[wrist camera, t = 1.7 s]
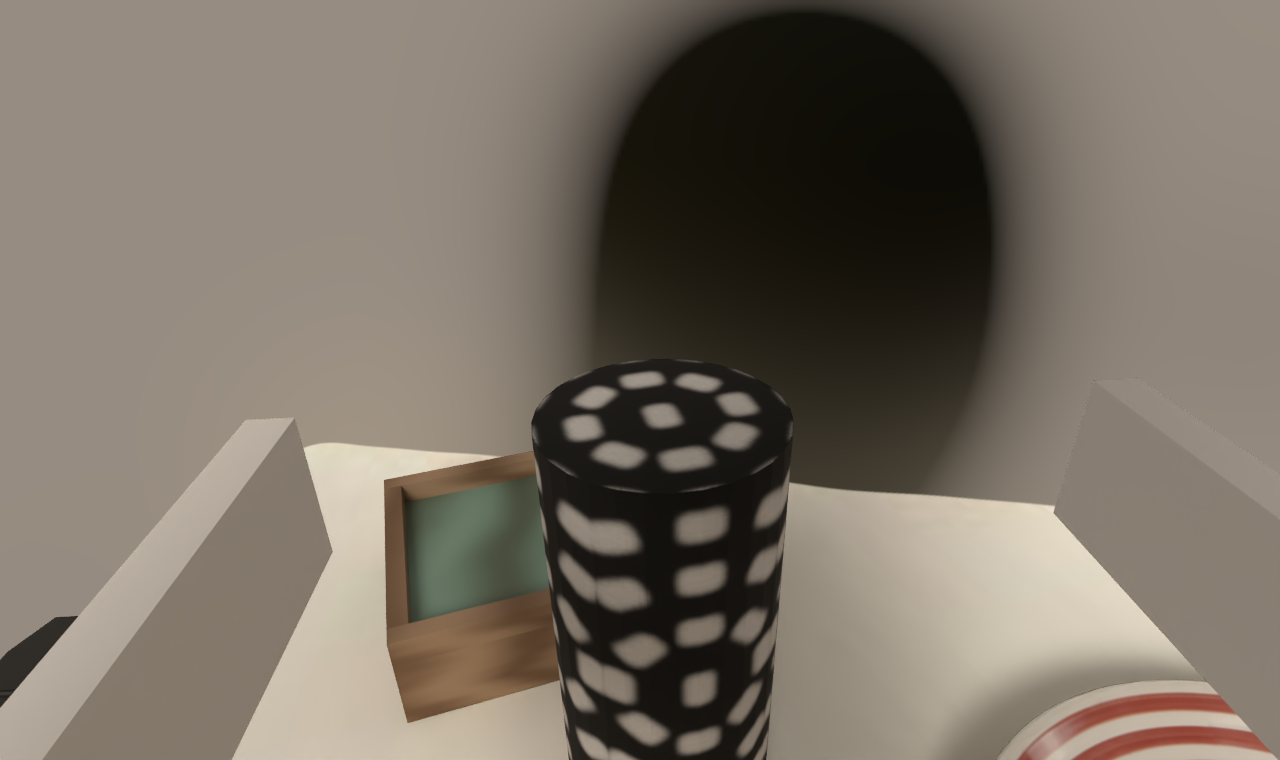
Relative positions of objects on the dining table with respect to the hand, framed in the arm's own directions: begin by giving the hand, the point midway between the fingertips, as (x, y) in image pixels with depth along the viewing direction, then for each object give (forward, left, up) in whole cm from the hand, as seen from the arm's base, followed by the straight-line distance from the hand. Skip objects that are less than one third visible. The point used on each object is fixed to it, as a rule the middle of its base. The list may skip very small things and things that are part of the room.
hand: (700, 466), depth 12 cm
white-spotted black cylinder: (-3, -9, -25) cm, 27 cm away
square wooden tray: (+1, -24, -25) cm, 35 cm away
